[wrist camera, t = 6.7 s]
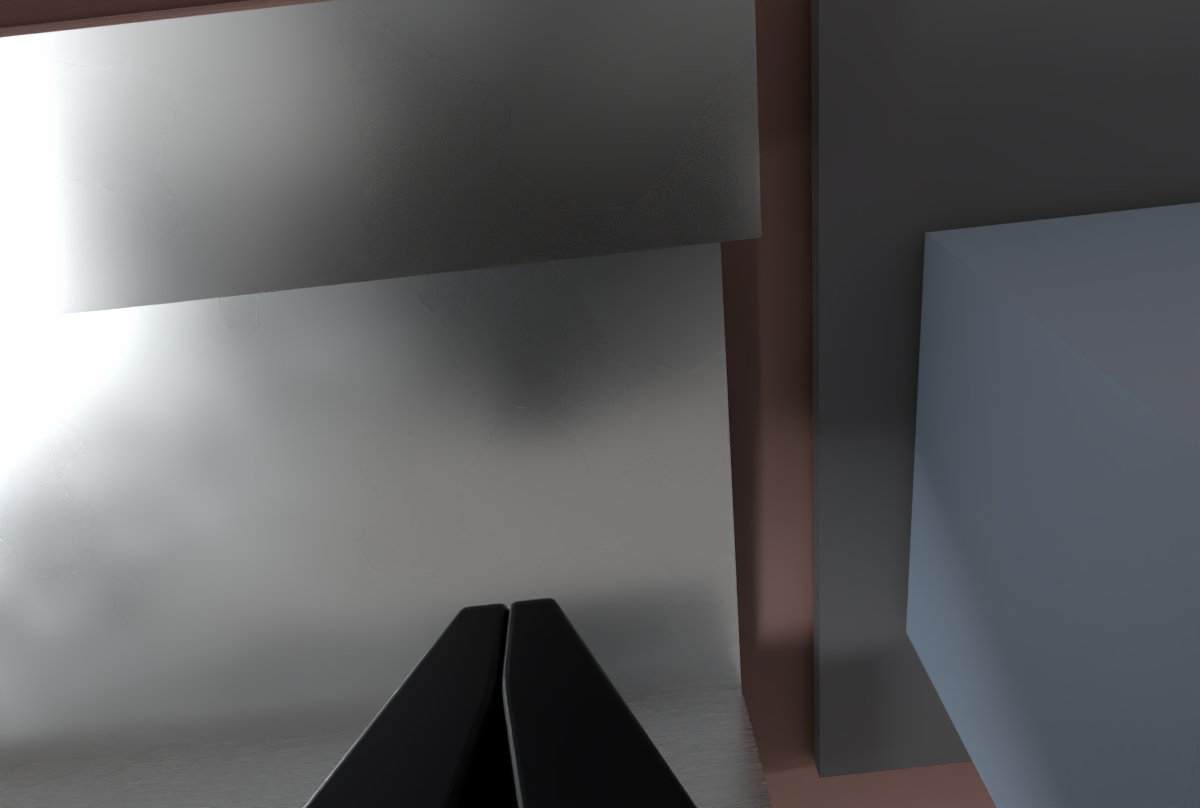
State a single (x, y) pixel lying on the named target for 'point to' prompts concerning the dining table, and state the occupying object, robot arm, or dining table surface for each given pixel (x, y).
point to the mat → (896, 262)
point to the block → (1063, 505)
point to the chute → (361, 376)
